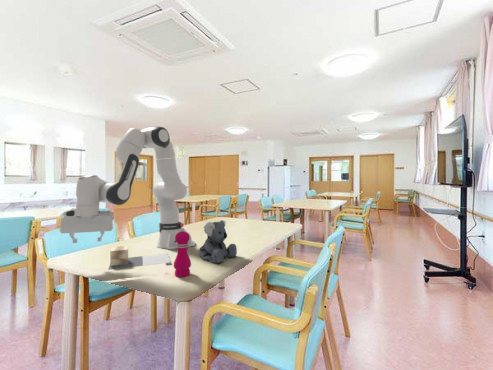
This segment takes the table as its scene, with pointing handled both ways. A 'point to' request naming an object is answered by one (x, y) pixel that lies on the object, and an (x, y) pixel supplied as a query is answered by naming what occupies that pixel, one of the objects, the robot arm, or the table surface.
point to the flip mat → (145, 261)
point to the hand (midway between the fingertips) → (87, 242)
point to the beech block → (119, 256)
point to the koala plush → (216, 243)
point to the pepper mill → (182, 254)
